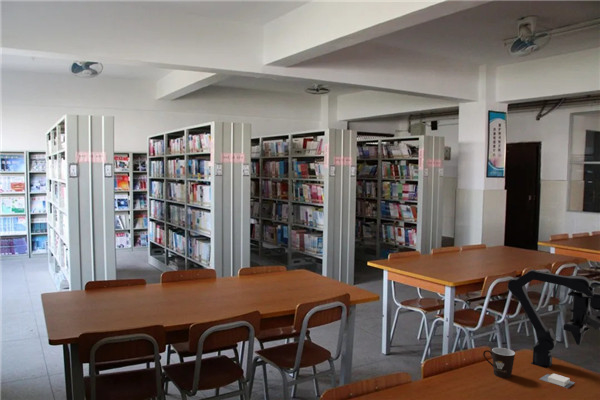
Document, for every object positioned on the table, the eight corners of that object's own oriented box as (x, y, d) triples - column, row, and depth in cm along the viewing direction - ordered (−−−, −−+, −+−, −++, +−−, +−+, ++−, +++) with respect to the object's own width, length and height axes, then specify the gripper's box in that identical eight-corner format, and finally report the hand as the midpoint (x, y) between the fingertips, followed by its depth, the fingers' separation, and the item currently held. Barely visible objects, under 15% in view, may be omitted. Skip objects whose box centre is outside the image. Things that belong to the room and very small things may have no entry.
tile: (553, 378, 190) (547, 381, 186) (553, 373, 190) (547, 376, 186) (569, 383, 186) (564, 387, 182) (569, 378, 185) (564, 382, 182)
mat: (539, 380, 189) (539, 379, 189) (547, 374, 194) (547, 373, 194) (567, 389, 181) (567, 388, 181) (575, 383, 186) (575, 382, 186)
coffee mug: (518, 378, 190) (519, 354, 189) (502, 381, 187) (503, 356, 186) (496, 367, 201) (497, 344, 200) (480, 370, 197) (481, 346, 197)
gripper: (594, 316, 183) (592, 355, 184) (610, 307, 195) (607, 345, 196) (563, 309, 191) (561, 347, 192) (580, 302, 204) (578, 337, 204)
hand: (578, 344), depth 196 cm, fingers closed
